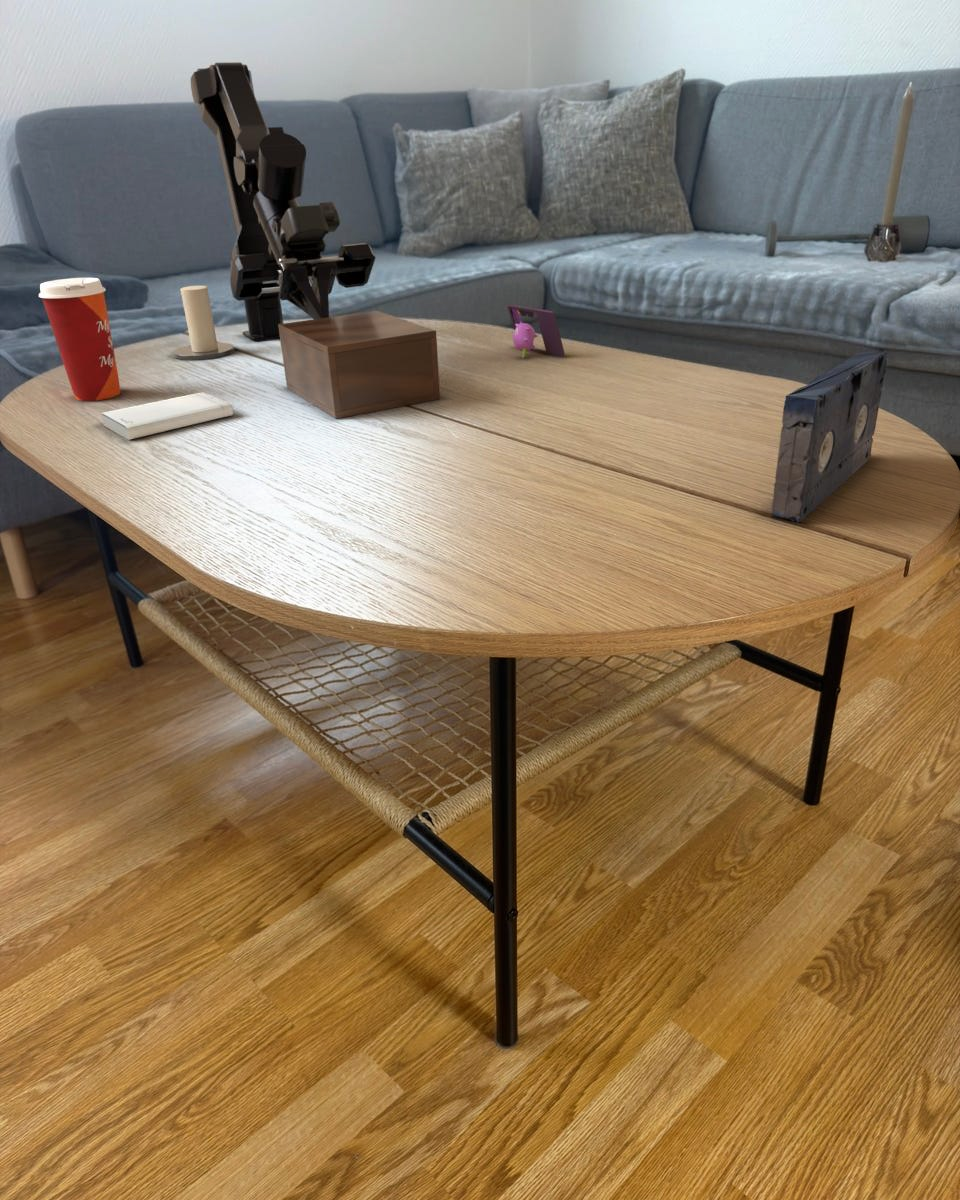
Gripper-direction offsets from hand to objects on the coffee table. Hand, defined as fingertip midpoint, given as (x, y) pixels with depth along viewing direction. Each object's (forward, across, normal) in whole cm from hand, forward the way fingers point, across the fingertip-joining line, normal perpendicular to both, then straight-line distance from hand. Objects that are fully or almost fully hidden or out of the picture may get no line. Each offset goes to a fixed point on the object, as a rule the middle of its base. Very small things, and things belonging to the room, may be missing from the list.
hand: (325, 324), depth 113 cm
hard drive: (+10, -23, +1) cm, 25 cm away
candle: (-14, -10, +23) cm, 29 cm away
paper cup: (-3, -28, +13) cm, 31 cm away
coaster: (-15, -10, +24) cm, 30 cm away
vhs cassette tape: (+50, +20, -39) cm, 67 cm away
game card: (+9, +28, +1) cm, 30 cm away
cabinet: (+12, 0, -2) cm, 12 cm away
